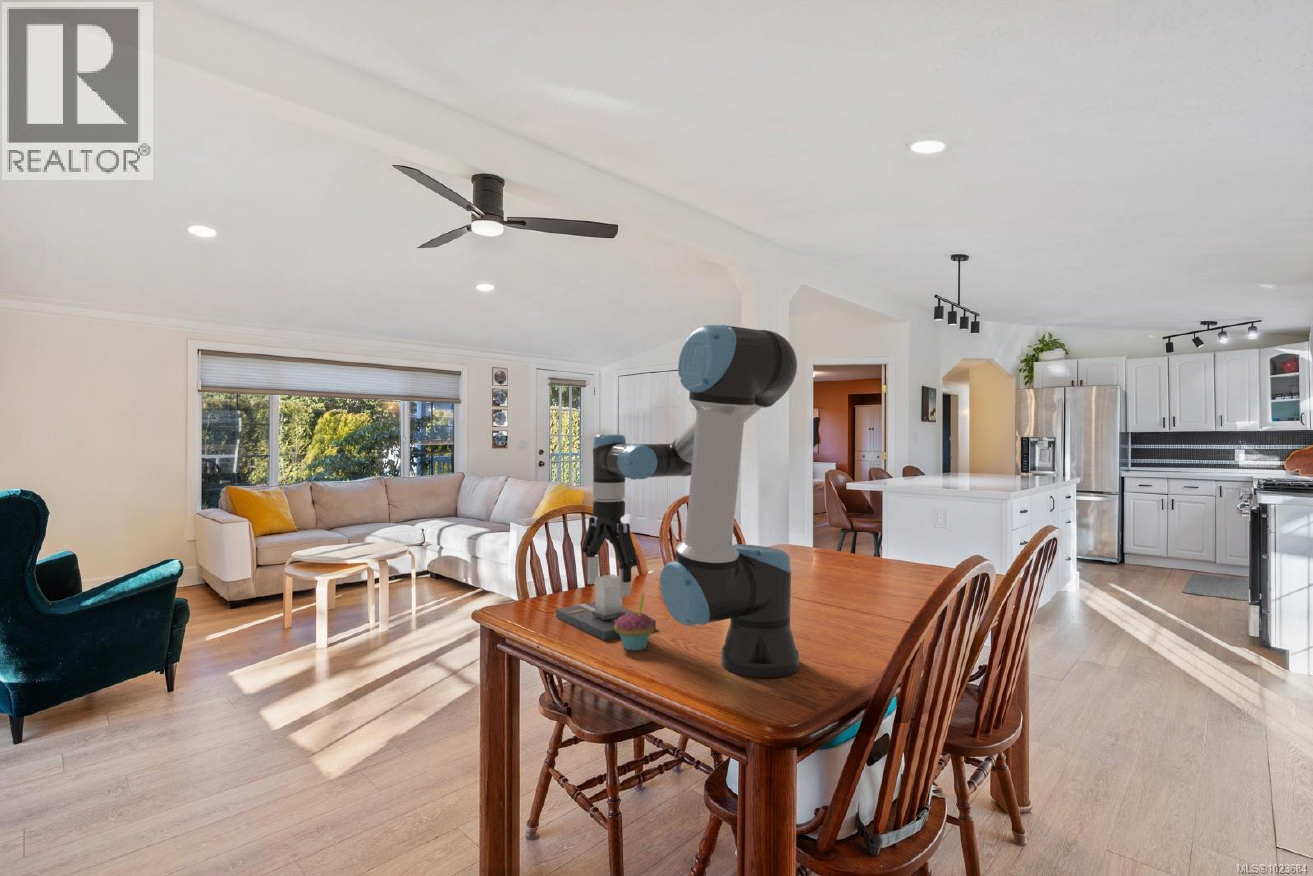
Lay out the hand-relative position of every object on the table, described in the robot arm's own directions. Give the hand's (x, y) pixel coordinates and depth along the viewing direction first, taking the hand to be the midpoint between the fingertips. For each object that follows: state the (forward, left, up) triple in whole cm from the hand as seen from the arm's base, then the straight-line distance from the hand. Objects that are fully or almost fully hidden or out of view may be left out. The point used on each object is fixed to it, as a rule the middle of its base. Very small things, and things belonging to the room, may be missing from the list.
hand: (608, 589), depth 151 cm
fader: (0, 0, -6) cm, 6 cm away
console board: (+2, 0, -8) cm, 9 cm away
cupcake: (-16, +4, -9) cm, 19 cm away
